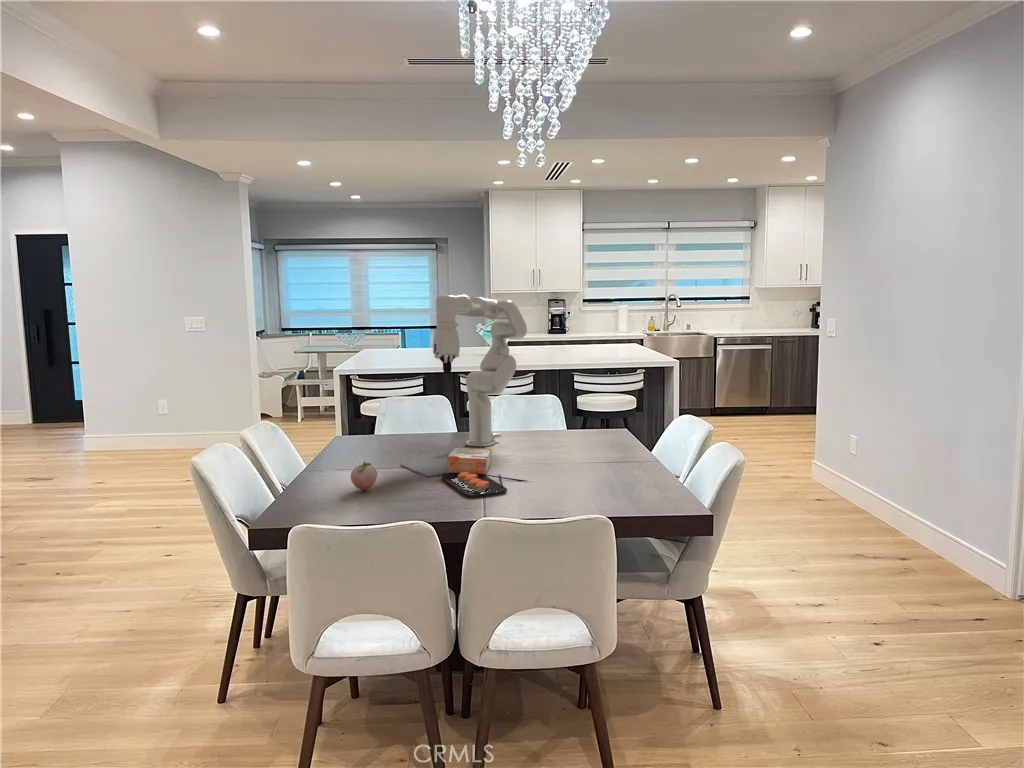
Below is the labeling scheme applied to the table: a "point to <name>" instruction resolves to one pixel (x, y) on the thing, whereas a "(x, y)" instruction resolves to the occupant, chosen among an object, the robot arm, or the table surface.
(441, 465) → the mat
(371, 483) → the decorative fruit
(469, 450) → the cracker box
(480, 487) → the sushi plate
